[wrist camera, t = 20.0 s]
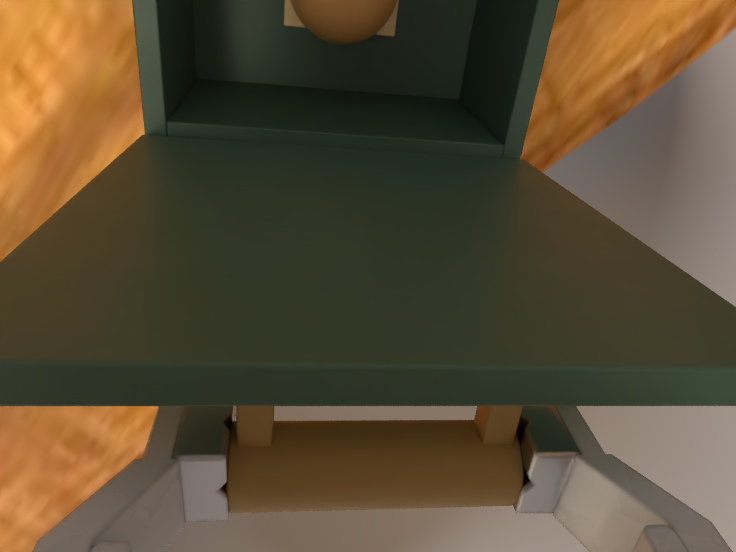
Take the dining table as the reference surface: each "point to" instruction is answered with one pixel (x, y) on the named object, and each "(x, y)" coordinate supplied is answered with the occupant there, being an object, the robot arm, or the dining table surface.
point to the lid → (351, 313)
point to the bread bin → (345, 76)
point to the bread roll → (343, 18)
